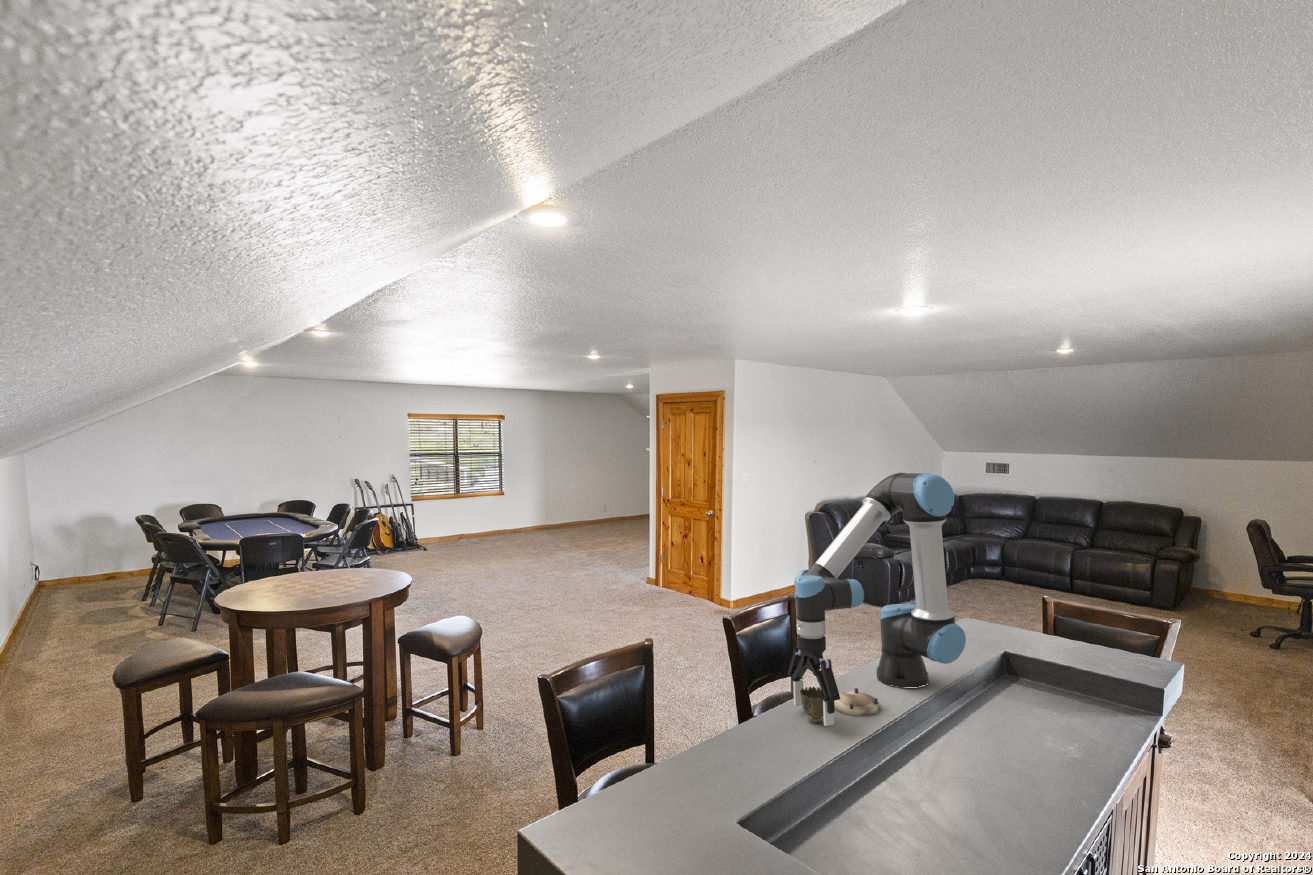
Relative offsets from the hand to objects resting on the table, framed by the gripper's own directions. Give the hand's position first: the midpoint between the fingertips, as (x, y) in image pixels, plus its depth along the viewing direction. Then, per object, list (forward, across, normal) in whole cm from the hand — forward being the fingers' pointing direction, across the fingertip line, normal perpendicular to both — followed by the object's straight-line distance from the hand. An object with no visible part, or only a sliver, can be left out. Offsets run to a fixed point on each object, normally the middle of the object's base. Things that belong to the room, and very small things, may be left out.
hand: (813, 714), depth 168 cm
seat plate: (+2, -3, +16) cm, 16 cm away
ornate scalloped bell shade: (+2, 0, 0) cm, 2 cm away
